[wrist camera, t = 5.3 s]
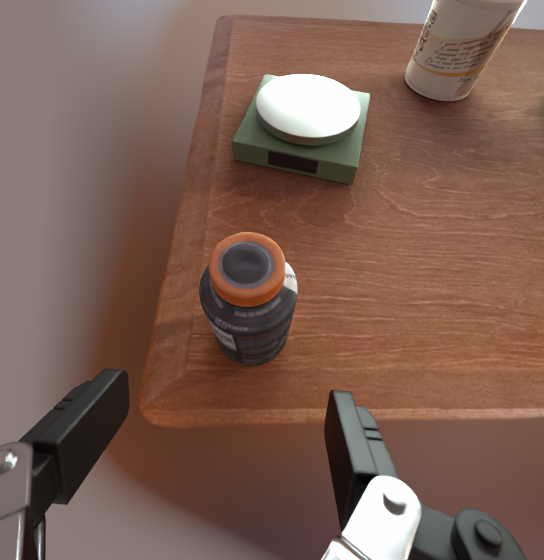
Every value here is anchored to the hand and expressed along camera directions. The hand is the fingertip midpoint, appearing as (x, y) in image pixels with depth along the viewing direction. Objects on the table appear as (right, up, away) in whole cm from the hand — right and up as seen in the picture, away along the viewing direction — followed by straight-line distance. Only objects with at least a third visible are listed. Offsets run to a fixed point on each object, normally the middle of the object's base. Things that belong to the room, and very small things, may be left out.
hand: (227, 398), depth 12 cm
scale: (+6, +23, +26) cm, 35 cm away
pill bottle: (0, 0, +14) cm, 14 cm away
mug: (+27, +35, +33) cm, 55 cm away
